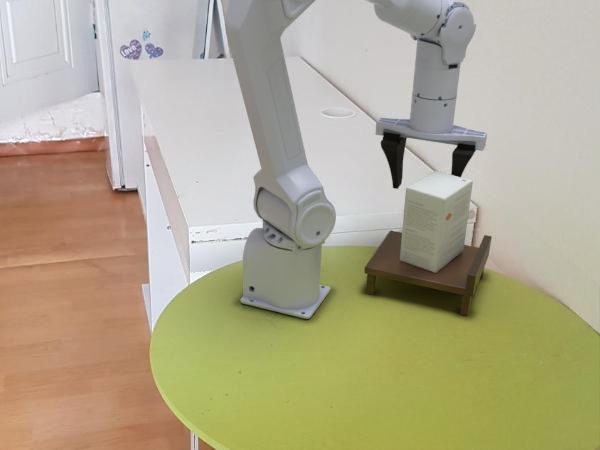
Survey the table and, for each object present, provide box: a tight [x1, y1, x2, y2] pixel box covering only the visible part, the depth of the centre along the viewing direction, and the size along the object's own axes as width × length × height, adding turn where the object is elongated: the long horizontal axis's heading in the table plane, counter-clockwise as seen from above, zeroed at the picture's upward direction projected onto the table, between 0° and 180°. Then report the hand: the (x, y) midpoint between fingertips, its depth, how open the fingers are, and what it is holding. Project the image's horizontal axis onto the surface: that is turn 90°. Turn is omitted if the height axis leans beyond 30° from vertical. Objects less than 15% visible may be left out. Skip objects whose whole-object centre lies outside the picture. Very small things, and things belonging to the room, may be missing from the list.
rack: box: [363, 230, 493, 317], centre depth 100 cm, size 14×12×6 cm
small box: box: [400, 170, 474, 273], centre depth 97 cm, size 8×6×10 cm
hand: (424, 190), depth 103 cm, fingers open, 7 cm apart
